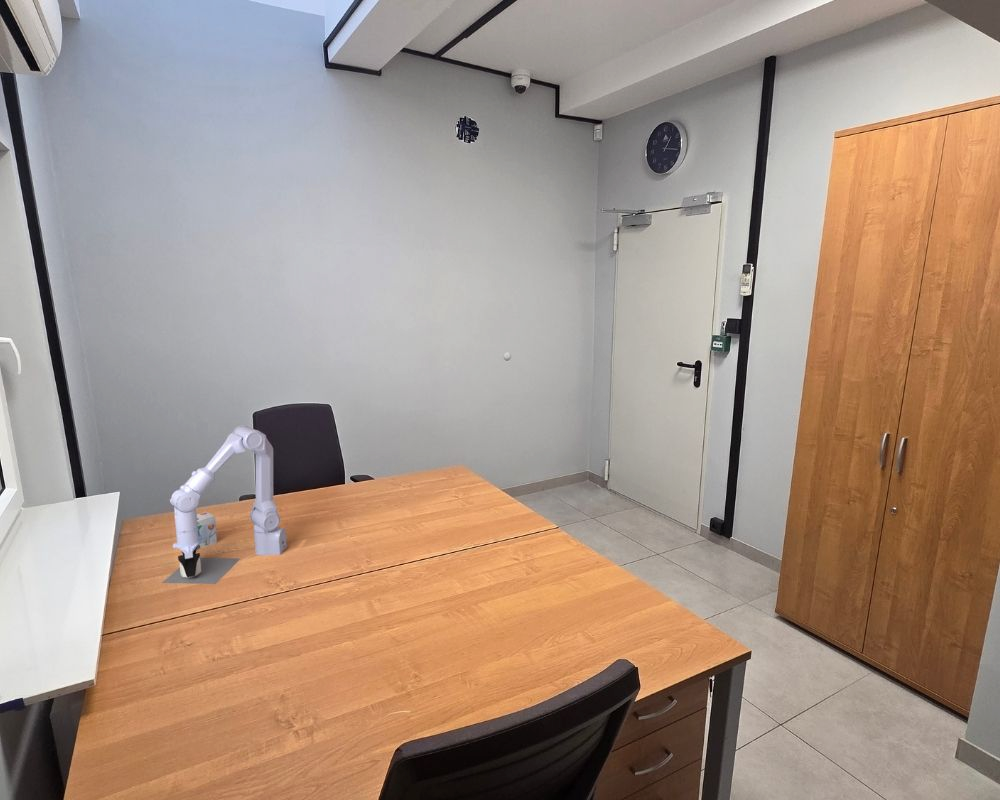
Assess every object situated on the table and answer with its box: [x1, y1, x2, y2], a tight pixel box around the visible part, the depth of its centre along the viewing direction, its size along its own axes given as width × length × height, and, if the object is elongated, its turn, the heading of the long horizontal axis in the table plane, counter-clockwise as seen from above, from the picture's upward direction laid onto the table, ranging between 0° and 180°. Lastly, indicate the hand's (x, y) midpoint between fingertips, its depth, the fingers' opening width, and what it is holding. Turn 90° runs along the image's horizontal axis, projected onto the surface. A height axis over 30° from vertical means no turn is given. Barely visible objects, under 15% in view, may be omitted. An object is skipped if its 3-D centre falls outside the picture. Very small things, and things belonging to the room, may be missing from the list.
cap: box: [178, 556, 201, 577], centre depth 168 cm, size 5×5×4 cm
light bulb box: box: [175, 511, 218, 550], centre depth 187 cm, size 11×7×11 cm, turn 143°
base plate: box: [161, 557, 242, 585], centre depth 171 cm, size 16×16×1 cm
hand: (190, 570), depth 168 cm, fingers open, 7 cm apart
